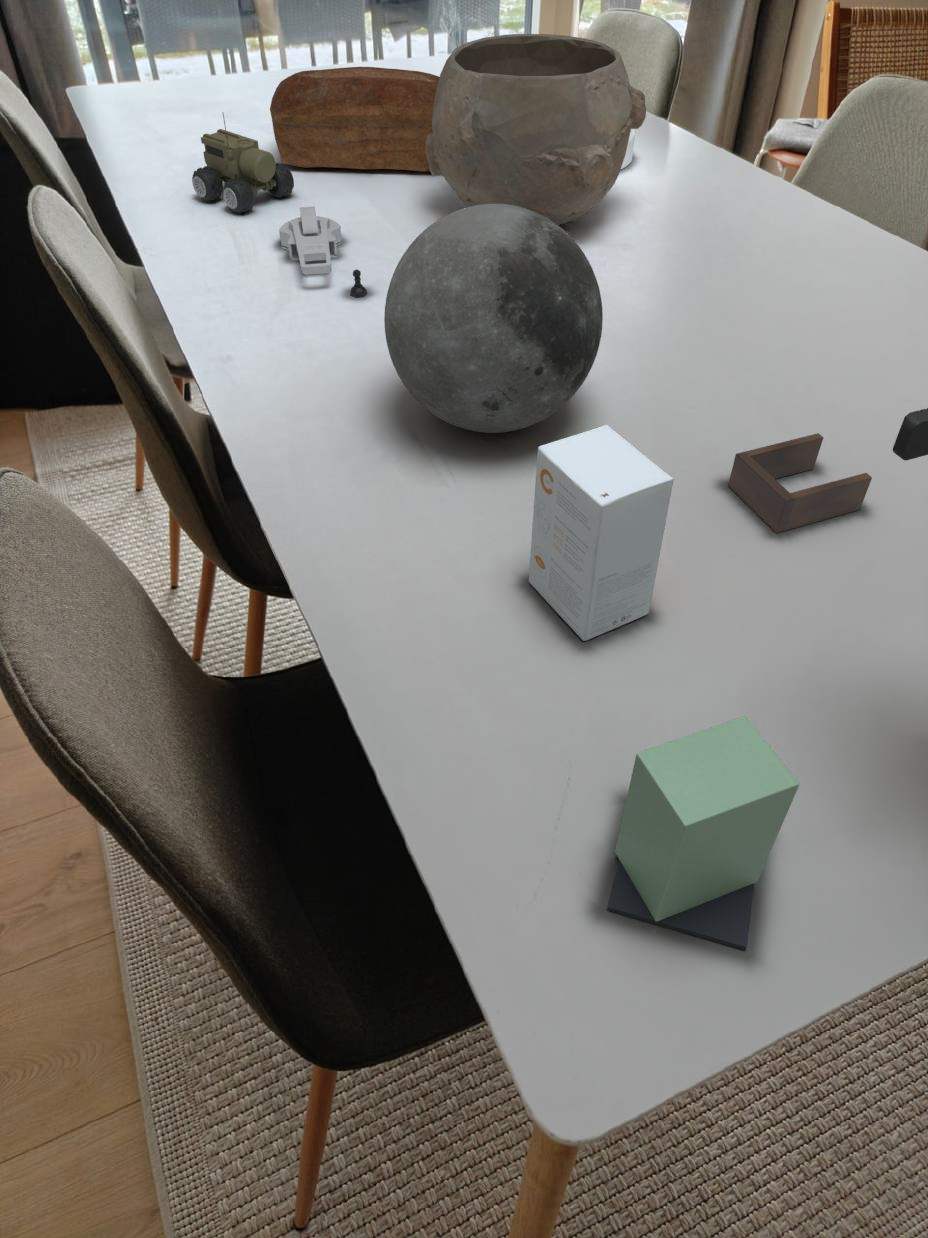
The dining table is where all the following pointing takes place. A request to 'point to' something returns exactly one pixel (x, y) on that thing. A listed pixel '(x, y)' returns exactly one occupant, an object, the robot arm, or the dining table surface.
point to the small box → (597, 529)
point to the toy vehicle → (239, 171)
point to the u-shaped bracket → (797, 508)
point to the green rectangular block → (702, 816)
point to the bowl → (533, 122)
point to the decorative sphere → (493, 318)
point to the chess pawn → (357, 286)
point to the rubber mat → (691, 912)
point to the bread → (354, 118)
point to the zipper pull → (311, 240)
